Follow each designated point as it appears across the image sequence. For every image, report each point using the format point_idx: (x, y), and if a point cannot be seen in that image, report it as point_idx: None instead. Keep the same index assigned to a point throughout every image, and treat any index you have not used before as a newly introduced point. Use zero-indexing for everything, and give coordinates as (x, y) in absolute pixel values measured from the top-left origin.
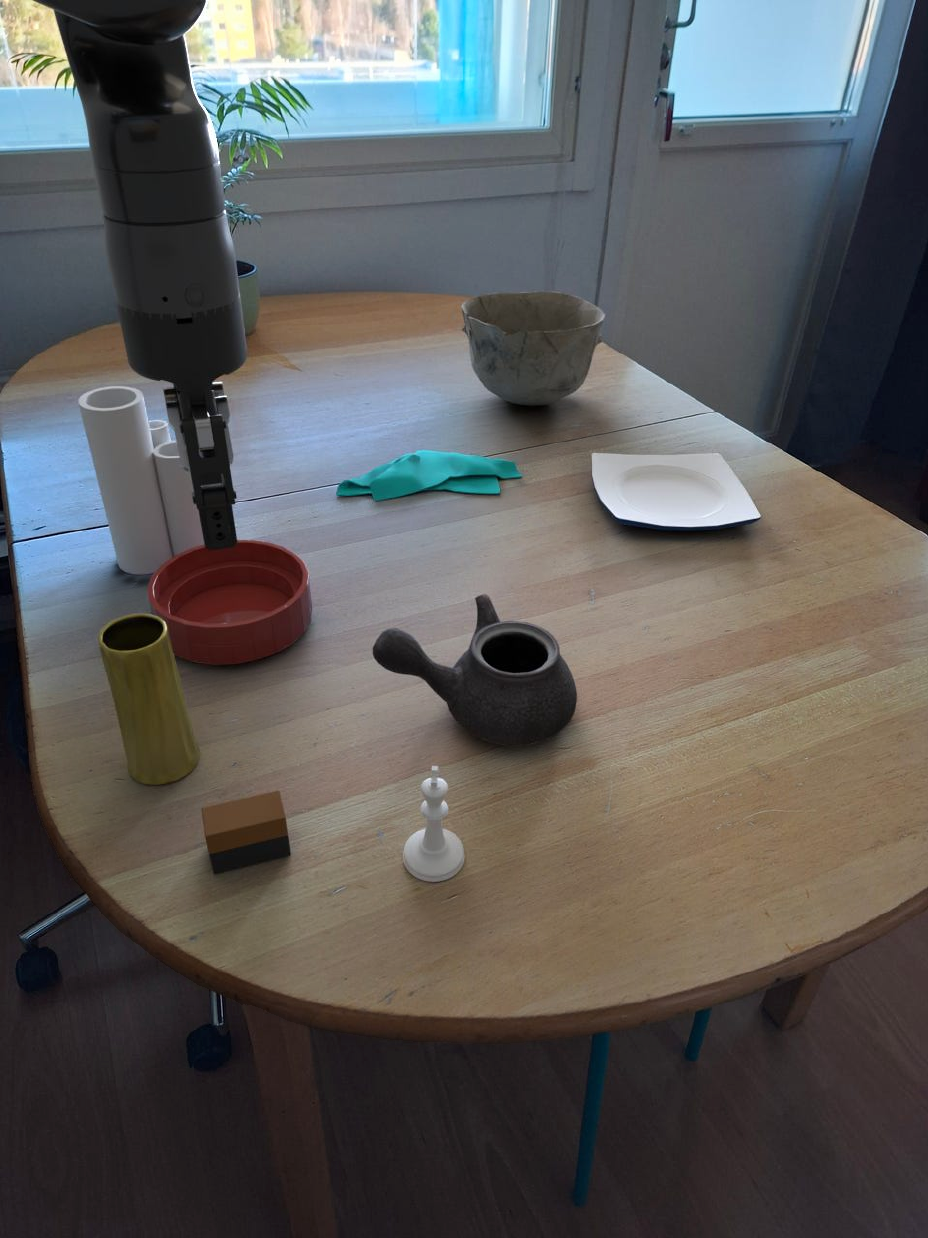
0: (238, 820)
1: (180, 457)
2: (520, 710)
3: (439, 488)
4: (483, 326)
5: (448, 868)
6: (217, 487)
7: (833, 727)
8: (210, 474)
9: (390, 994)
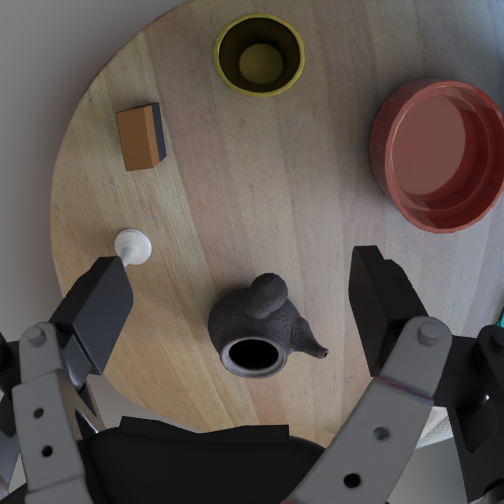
0: (126, 137)
1: (15, 403)
2: (212, 335)
3: (497, 324)
4: None
5: (117, 253)
6: (8, 394)
7: (207, 417)
8: (358, 304)
9: (56, 207)
